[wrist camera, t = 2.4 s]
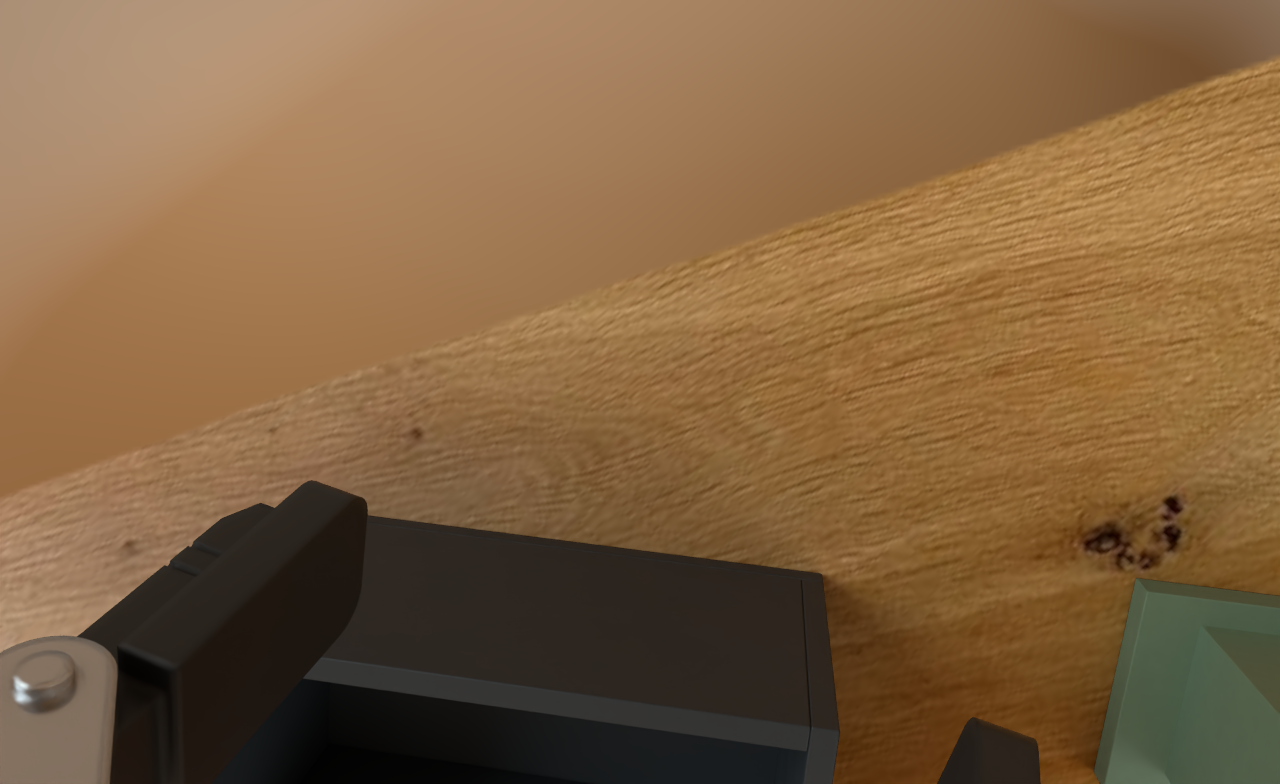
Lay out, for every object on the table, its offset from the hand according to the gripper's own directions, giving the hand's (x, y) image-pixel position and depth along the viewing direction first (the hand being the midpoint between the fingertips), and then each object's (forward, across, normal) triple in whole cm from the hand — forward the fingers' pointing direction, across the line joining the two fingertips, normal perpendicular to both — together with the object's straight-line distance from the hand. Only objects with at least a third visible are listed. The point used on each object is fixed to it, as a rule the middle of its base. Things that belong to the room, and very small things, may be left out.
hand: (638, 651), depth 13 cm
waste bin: (+20, +6, +20) cm, 29 cm away
